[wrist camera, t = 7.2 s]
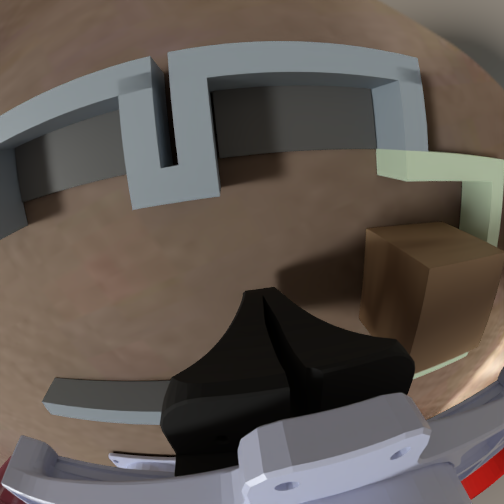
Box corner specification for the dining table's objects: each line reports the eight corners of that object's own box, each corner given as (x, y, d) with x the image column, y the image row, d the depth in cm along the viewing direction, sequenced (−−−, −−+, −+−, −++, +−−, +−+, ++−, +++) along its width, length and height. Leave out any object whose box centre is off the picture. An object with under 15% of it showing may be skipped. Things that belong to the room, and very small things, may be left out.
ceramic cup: (520, 397, 27) (546, 428, 17) (479, 450, 32) (498, 479, 23) (482, 425, 26) (510, 465, 16) (438, 475, 31) (456, 509, 22)
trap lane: (448, 337, 16) (466, 355, 14) (62, 390, 15) (51, 414, 12) (468, 88, 10) (497, 86, 8) (-19, 144, 9) (-47, 148, 7)
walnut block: (428, 301, 15) (477, 346, 10) (358, 317, 14) (402, 378, 10) (440, 221, 13) (506, 252, 8) (365, 227, 13) (429, 268, 8)
